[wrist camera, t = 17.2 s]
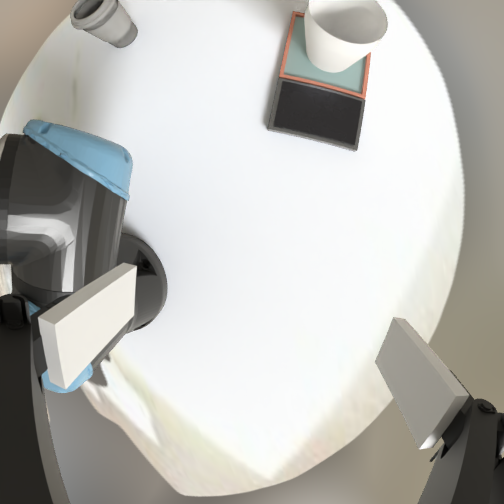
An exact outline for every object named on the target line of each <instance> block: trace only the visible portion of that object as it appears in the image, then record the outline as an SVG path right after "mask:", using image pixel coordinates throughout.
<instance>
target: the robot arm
mask: <svg viewBox="0 0 504 504" xmlns="http://www.w3.org/2000/svg"><path fill="white" fill-rule="evenodd" d="M23 133H24V135H18V134H5V135H4V136H3V137H2V138H1V139H0V264H11V272H12V293H11V294H7V295H3V296H1V297H0V504H70V501H69V499H68V495H67V493H66V490H65V486H64V483H63V480H62V477H61V473H60V469H59V466H58V462H57V458H56V455H55V450H54V446H53V441H52V437H51V431H50V426H49V420H48V415H47V408H46V401H45V394H44V388H46V389H48V390H51V391H54V392H59V393H67V392H72V391H74V390H76V389H77V388H78V387H79V386H80V385H82V384H83V383H84V382H85V381H86V380H87V379H89V378H90V377H91V376H92V374H93V371H94V370H95V369H96V368H97V367H98V365H99V364H100V363H101V362H102V361H103V359H104V358H105V357H106V356H107V355H108V354H109V352H110V351H111V350H112V349H113V348H114V347H115V345H116V344H117V343H118V342H119V341H120V340H121V338H122V337H123V336H124V335H125V334H127V333H130V332H132V331H135V330H138V329H141V328H143V327H145V326H147V325H148V324H150V323H151V322H152V321H153V320H154V319H155V318H156V316H157V315H158V314H159V313H160V311H161V310H162V308H163V306H164V304H165V301H166V297H167V279H166V275H165V271H164V268H163V266H162V264H161V262H160V260H159V258H158V257H157V255H156V254H155V253H154V251H153V250H152V249H151V248H150V247H149V246H148V245H147V244H145V243H144V242H143V241H141V240H140V239H138V238H136V237H134V236H131V235H128V234H123V233H121V230H122V225H123V219H124V214H125V209H126V204H127V200H128V201H129V194H128V191H129V184H130V178H131V172H132V166H133V163H132V158H131V155H130V153H129V152H128V151H127V150H126V149H125V148H124V147H122V146H121V145H119V144H116V143H114V142H111V141H109V140H106V139H104V138H101V137H98V136H95V135H92V134H89V133H86V132H83V131H80V130H76V129H73V128H70V127H66V126H62V125H58V124H53V123H48V122H44V121H41V120H30V121H29V122H28V123H27V125H26V126H25V127H24V129H23ZM375 363H376V365H377V366H378V368H379V370H380V372H381V374H382V376H383V378H384V380H385V382H386V384H387V385H388V387H389V389H390V391H391V393H392V395H393V397H394V399H395V401H396V403H397V405H398V407H399V409H400V411H401V413H402V415H403V417H404V419H405V421H406V423H407V425H408V427H409V429H410V431H411V434H412V435H413V438H414V440H415V442H416V444H417V446H418V448H419V449H425V448H431V447H434V445H435V444H436V443H437V442H438V440H439V439H440V438H441V437H442V439H443V440H444V444H443V445H442V446H441V447H440V448H439V450H438V451H437V452H436V453H435V455H434V456H433V457H432V458H431V460H430V462H432V461H433V460H434V459H435V458H436V460H435V463H434V466H433V469H432V471H431V474H430V476H429V479H428V481H427V484H426V486H425V488H424V491H423V493H422V495H421V497H420V499H419V502H418V504H504V457H503V458H502V457H501V454H502V453H503V452H504V413H497V410H496V408H495V407H494V406H493V405H492V404H491V403H489V402H488V401H486V400H484V399H475V400H474V398H473V397H472V396H471V395H470V394H469V392H468V391H467V390H466V389H465V387H464V386H463V385H462V384H461V382H460V381H459V380H458V379H457V377H455V375H454V374H453V372H452V371H451V370H449V369H448V368H447V367H446V366H445V364H444V363H443V362H442V361H441V360H440V358H439V357H438V356H437V355H436V354H435V352H434V351H433V350H432V349H431V348H430V347H429V346H428V344H427V343H426V342H425V341H424V340H423V339H422V337H421V336H420V335H419V334H418V333H417V332H416V331H415V330H414V328H413V327H412V326H411V325H410V324H409V323H408V322H407V321H406V320H405V319H401V318H394V317H393V319H392V322H391V325H390V327H389V330H388V332H387V335H386V337H385V340H384V342H383V344H382V347H381V349H380V351H379V354H378V356H377V358H376V360H375Z"/></svg>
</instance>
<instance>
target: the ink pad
mask: <svg viewBox="0 0 504 504" xmlns="http://www.w3.org/2000/svg"><path fill="white" fill-rule="evenodd" d="M364 106H365V100H364V99H360V98H357V97H354V96H351V95H347V94H344V93H341V92H337V91H333V90H330V89H326V88H322V87H318V86H314V85H310V84H306V83H301V82H297V81H292V80H287V79H282V78H279V79H278V83H277V88H276V93H275V98H274V102H273V107H272V112H271V117H270V121H269V126H268V131H273V132H278V133H283V134H287V135H292V136H296V137H301V138H305V139H309V140H313V141H317V142H321V143H325V144H329V145H333V146H337V147H340V148H344V149H347V150H351V151H354V152H355V151H357V149H358V143H359V137H360V132H361V126H362V119H363V113H364Z"/></svg>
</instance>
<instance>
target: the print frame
mask: <svg viewBox="0 0 504 504" xmlns="http://www.w3.org/2000/svg"><path fill="white" fill-rule="evenodd" d="M304 16H305V13H300V12H295V11H293V14H292V19H291V23H290V28H289V33H288V37H287V42H286V46H285V51H284V56H283V60H282V65H281V70H280V74H279V78H282V79H287V80H292V81H297V82H301V83H306V84H310V85H314V86H318V87H322V88H326V89H330V90H333V91H337V92H341V93H344V94H347V95H351V96H354V97H357V98H360V99H365V97H366V90H367V82H368V74H369V65H370V56H371V52H370V53H368V54H367V55H366V56H364V57H363V58H361V59H360V60H358V61H357V62H355V63H354V64H353V65H351V66H350V67H348V68H347V69H345V70H344V71H341V72H337V73H331V72H326V71H323V70H321V69H319V68H317V67H316V66H315V65H313V64H312V63H311V61H310V60H309V58H308V56H307V53H306V39H305V24H304Z"/></svg>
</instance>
